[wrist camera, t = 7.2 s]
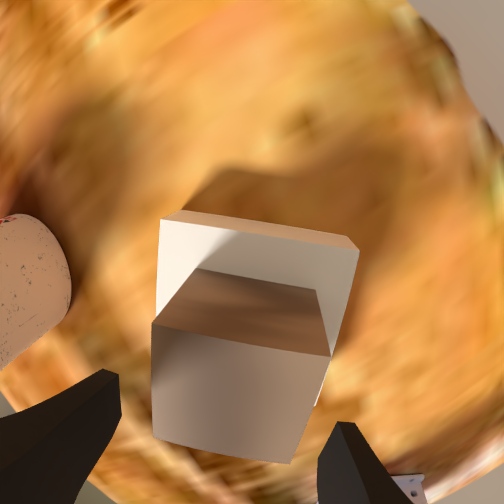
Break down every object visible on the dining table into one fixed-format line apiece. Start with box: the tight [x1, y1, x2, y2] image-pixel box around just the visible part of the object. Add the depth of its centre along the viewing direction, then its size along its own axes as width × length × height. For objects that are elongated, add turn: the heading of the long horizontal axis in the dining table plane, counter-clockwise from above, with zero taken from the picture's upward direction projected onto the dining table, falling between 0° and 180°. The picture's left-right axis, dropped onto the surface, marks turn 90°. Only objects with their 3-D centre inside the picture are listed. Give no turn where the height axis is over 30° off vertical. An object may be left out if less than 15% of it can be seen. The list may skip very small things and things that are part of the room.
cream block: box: [156, 210, 360, 406], centre depth 17 cm, size 9×9×4 cm
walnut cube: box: [151, 268, 331, 464], centre depth 13 cm, size 6×6×6 cm
